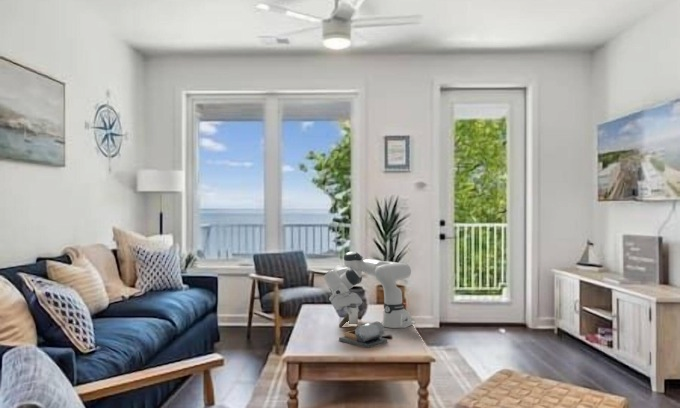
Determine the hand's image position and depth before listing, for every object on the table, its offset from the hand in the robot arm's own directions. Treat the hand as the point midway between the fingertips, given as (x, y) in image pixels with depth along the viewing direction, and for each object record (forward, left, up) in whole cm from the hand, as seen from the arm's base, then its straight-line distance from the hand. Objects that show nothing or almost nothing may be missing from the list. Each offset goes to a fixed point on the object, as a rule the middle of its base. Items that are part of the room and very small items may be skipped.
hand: (354, 313), depth 329 cm
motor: (-1, +6, -15) cm, 17 cm away
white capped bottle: (0, -1, -6) cm, 6 cm away
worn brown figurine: (-23, -26, -16) cm, 38 cm away
